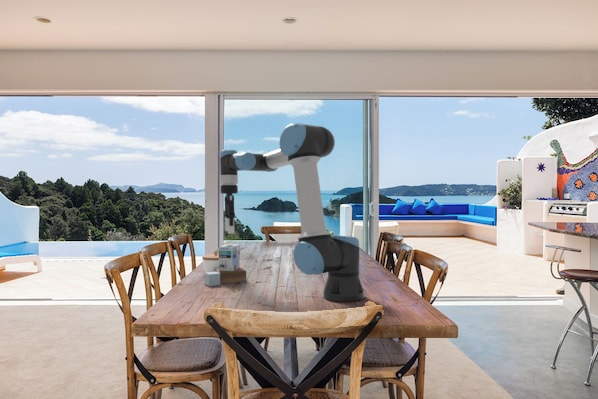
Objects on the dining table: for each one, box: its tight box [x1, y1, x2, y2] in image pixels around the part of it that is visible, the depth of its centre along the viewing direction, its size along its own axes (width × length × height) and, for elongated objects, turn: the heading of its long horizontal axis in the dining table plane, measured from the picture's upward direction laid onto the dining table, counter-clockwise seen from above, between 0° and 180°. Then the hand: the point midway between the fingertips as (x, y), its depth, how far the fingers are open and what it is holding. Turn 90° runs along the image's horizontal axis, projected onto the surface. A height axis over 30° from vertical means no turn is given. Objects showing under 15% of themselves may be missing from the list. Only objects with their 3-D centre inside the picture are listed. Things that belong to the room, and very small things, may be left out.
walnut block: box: [214, 266, 247, 284], centre depth 199 cm, size 12×12×5 cm
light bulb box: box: [218, 243, 241, 271], centre depth 199 cm, size 11×7×11 cm, turn 170°
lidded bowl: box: [202, 251, 219, 273], centre depth 211 cm, size 13×13×11 cm
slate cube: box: [204, 272, 221, 287], centre depth 189 cm, size 5×5×5 cm
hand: (229, 232), depth 198 cm, fingers open, 13 cm apart
